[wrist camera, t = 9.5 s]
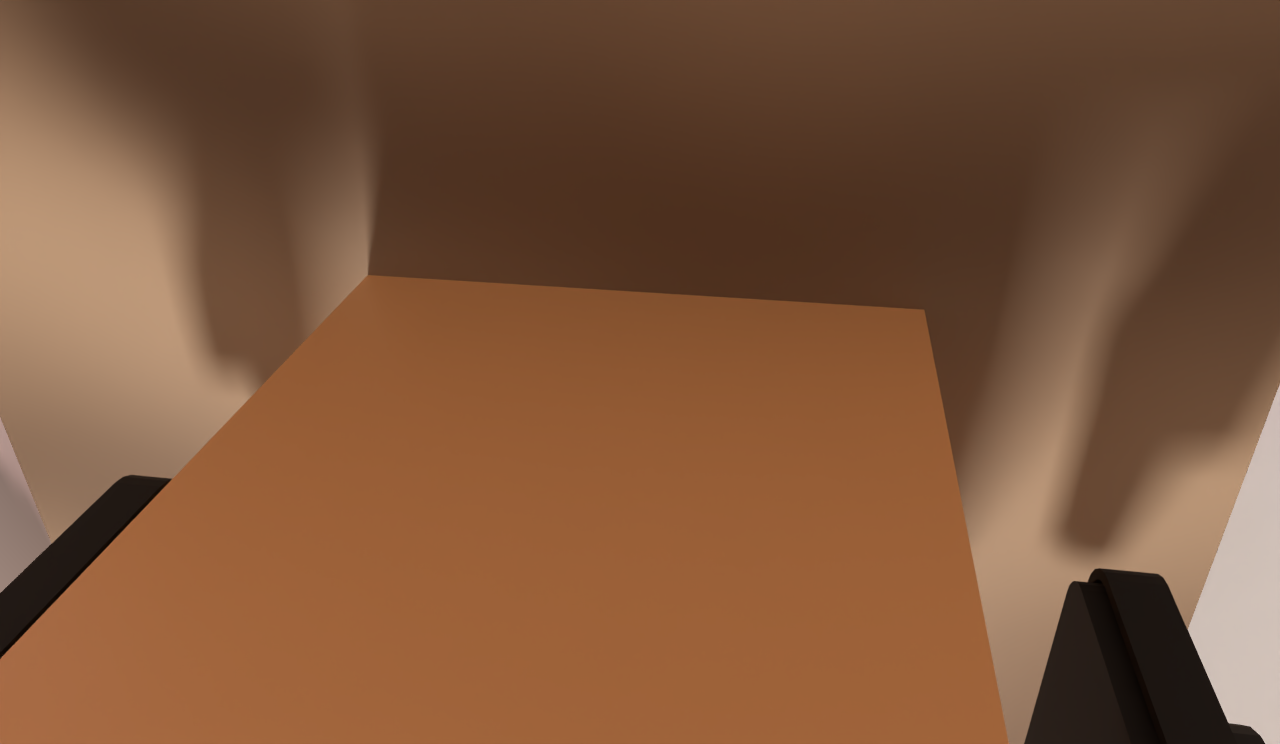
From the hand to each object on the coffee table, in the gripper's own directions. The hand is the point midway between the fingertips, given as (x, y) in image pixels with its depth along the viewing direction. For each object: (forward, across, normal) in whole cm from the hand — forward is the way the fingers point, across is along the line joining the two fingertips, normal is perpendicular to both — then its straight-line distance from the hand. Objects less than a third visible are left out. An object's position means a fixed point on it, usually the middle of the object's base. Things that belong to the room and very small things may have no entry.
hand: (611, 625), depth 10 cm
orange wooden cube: (+2, 0, 0) cm, 2 cm away
